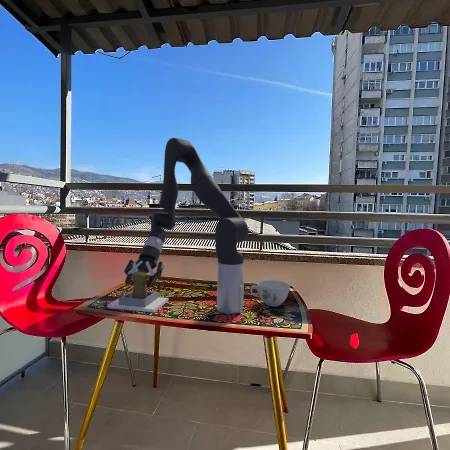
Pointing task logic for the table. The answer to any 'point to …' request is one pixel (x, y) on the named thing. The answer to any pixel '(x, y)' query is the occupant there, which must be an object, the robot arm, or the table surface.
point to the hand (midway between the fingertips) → (137, 285)
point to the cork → (139, 285)
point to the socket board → (139, 302)
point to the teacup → (272, 291)
